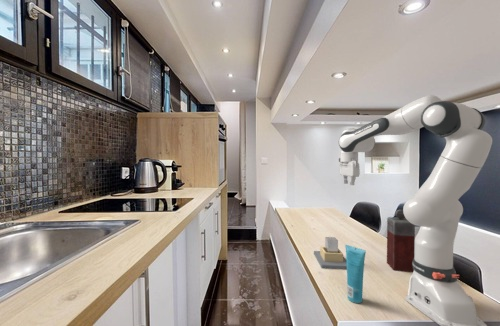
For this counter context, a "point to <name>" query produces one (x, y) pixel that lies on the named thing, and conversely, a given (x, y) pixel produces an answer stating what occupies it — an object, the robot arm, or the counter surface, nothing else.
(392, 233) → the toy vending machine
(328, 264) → the collar stand
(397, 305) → the counter surface
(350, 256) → the tube
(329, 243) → the block
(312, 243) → the counter surface
